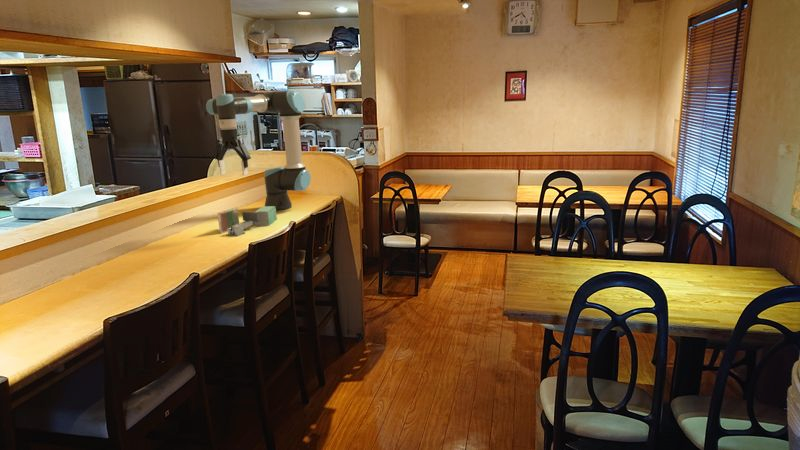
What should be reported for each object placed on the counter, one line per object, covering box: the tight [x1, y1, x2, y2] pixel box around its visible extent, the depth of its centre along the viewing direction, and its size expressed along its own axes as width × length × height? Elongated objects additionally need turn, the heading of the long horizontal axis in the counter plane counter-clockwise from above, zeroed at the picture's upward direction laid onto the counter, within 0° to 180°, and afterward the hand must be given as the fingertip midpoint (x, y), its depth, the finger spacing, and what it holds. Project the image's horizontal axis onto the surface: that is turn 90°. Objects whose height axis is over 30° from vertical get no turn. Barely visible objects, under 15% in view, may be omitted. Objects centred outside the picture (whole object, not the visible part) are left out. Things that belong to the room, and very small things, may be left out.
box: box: [254, 205, 278, 227], centre depth 269 cm, size 7×14×8 cm, turn 175°
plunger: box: [232, 210, 260, 231], centre depth 254 cm, size 14×12×6 cm
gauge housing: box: [217, 206, 246, 237], centre depth 254 cm, size 15×12×10 cm
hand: (234, 174), depth 248 cm, fingers open, 13 cm apart
